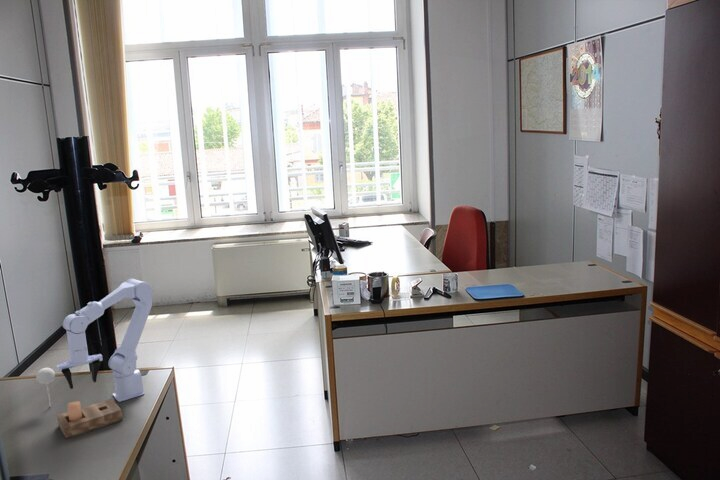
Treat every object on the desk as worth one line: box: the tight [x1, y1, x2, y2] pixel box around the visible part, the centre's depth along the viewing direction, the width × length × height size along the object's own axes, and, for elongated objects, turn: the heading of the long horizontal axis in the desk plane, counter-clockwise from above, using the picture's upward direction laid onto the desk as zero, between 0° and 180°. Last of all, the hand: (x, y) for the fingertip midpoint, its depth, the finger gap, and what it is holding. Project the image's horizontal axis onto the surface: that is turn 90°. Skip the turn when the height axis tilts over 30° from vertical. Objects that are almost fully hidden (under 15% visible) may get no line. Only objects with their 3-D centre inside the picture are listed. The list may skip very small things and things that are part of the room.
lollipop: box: [35, 367, 56, 408], centre depth 216 cm, size 6×6×15 cm
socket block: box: [56, 398, 124, 440], centre depth 205 cm, size 18×11×4 cm, turn 128°
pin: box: [66, 400, 82, 422], centre depth 201 cm, size 4×4×8 cm
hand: (83, 384), depth 211 cm, fingers open, 7 cm apart
